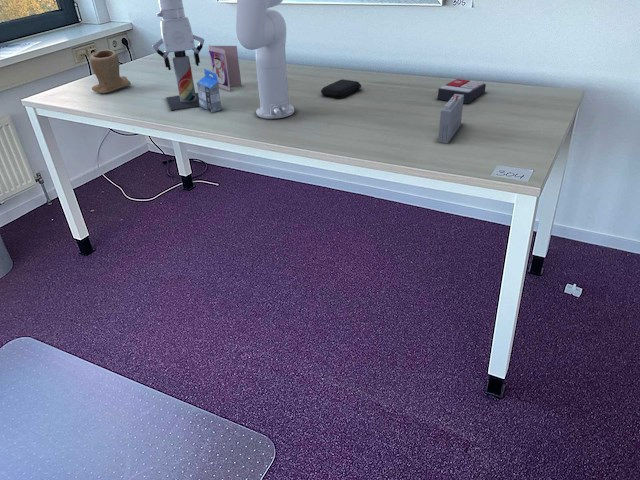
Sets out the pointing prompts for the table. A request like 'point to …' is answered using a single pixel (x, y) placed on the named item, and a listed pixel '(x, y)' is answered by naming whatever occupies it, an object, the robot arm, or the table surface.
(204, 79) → the label tape box
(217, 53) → the greeting card
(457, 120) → the cassette player
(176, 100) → the mat
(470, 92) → the grey and red box
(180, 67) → the lotion bottle
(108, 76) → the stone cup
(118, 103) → the table surface
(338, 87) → the carrying case
